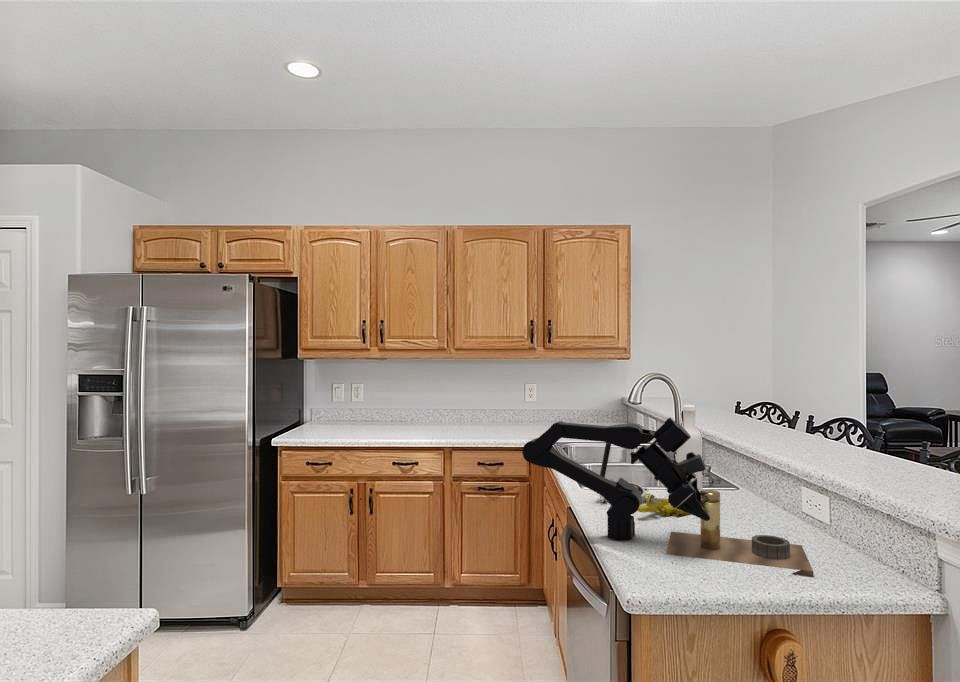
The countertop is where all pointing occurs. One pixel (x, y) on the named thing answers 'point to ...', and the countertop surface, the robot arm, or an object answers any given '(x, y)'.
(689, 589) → the countertop surface
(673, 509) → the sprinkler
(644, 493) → the butterfly valve
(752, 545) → the board
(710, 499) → the brass fitting
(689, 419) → the bottle
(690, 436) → the robot arm
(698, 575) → the countertop surface
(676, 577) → the countertop surface
